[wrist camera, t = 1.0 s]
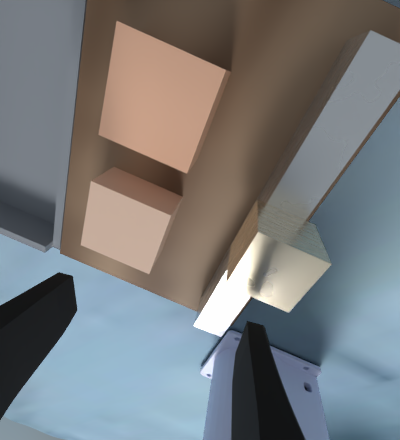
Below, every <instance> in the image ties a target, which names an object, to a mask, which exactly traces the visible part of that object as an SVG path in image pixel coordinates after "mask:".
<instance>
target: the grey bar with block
mask: <svg viewBox="0 0 400 440" xmlns="http://www.w3.org/2000/svg"><path fill="white" fill-rule="evenodd" d="M399 90H400V44H399V43H397V42H395V41H393V40H391V39H389V38H387V37H384V36H382V35H380V34H378V33H376V32H374V31H371V30H370V31H367V32H365V33H363V34H360V35H358V36H355V37H353V38H351V39H348V40H347V41H346V43H345V44H344V46H343V48H342V50H341V51H340V53H339V55H338V57H337V59H336V60H335V62H334V64H333V66H332V67H331V69H330V71H329V73H328V74H327V76H326V78H325V80H324V81H323V83H322V85H321V87H320V88H319V90H318V92H317V94H316V96H315V97H314V99H313V101H312V103H311V104H310V106H309V108H308V110H307V111H306V113H305V115H304V117H303V118H302V120H301V122H300V124H299V126H298V127H297V129H296V131H295V133H294V134H293V136H292V138H291V140H290V141H289V143H288V145H287V147H286V148H285V150H284V152H283V154H282V155H281V157H280V159H279V161H278V163H277V164H276V166H275V168H274V170H273V171H272V173H271V175H270V177H269V178H268V180H267V182H266V184H265V185H264V187H263V189H262V191H261V192H260V194H259V196H258V198H257V200H256V201H255V203H254V205H253V207H252V208H251V210H250V212H249V214H248V215H247V217H246V219H245V221H244V222H243V224H242V226H241V228H240V230H239V231H238V233H237V235H236V237H235V238H234V240H233V242H232V244H231V245H230V247H229V249H228V251H227V252H226V254H225V256H224V258H223V259H222V261H221V263H220V265H219V267H218V268H217V270H216V272H215V274H214V275H213V277H212V279H211V281H210V282H209V284H208V286H207V288H206V289H205V291H204V293H203V295H202V296H201V298H200V303H199V307H198V311H197V315H196V319H195V323H194V326H196V327H198V328H201V329H203V330H205V331H208V332H210V333H212V334H215V335H217V336H219V337H222V335H223V334H224V333H225V331H226V330H227V329H228V327H229V326H230V324H231V323H232V322H233V320H234V319H235V317H236V316H237V315H238V313H239V312H240V311H241V309H242V308H243V306H244V305H245V304H246V302H247V301H248V299H249V298H250V297H253V298H255V299H258V300H260V301H262V302H265V303H267V304H269V305H272V306H274V307H276V308H279V309H281V310H283V311H286V312H288V313H289V312H290V311H291V310H292V309H293V307H294V306H295V305H296V304H297V303H298V302H299V301H300V300H301V298H302V297H303V296H304V295H305V294H306V293H307V292H308V291H309V289H310V288H311V287H312V286H313V285H314V284H315V283H316V282H317V280H318V279H319V278H320V277H321V276H322V275H323V274H324V273H325V271H326V270H327V269H328V268H329V267H330V266H331V265H332V264H331V261H330V259H329V257H328V254H327V252H326V249H325V247H324V245H323V242H322V240H321V237H320V235H319V233H318V230H317V228H316V225H315V224H313V223H310V222H308V221H306V219H307V218H308V216H309V215H310V214H311V212H312V211H313V209H314V208H315V207H316V205H317V204H318V202H319V201H320V200H321V198H322V197H323V196H324V194H325V193H326V191H327V190H328V189H329V187H330V186H331V184H332V183H333V182H334V180H335V179H336V178H337V176H338V175H339V173H340V172H341V171H342V169H343V168H344V166H345V165H346V164H347V162H348V161H349V160H350V158H351V157H352V155H353V154H354V153H355V151H356V150H357V148H358V147H359V146H360V144H361V143H362V142H363V140H364V139H365V137H366V136H367V135H368V133H369V132H370V130H371V129H372V128H373V126H374V125H375V124H376V122H377V121H378V119H379V118H380V117H381V115H382V114H383V112H384V111H385V110H386V108H387V107H388V106H389V104H390V103H391V101H392V100H393V99H394V97H395V96H396V94H397V93H398V92H399Z"/></svg>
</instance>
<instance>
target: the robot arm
mask: <svg viewBox="0 0 400 440" xmlns="http://www.w3.org/2000/svg"><path fill="white" fill-rule="evenodd" d="M76 311H77V304H76V297H75V289H74V282H73V276H71V275H67V274H63V273H57V274H55V275H53V276H52V277H50V278H48V279H46V280H45V281H43V282H41V283H39V284H38V285H36V286H34V287H32V288H31V289H29V290H27V291H26V292H24V293H22V294H20V295H18V296H17V297H15V298H13V299H11V300H10V301H8V302H6V303H4V304H2V305H1V306H0V420H1V418H2V417H3V415H4V413H5V412H6V410H7V409H8V407H9V406H10V404H11V403H12V401H13V400H14V398H15V397H16V396H17V394H18V393H19V391H20V390H21V389H22V387H23V386H24V385H25V383H26V382H27V381H28V379H29V378H30V377H31V376H32V374H33V373H34V372H35V370H36V369H37V368H38V366H39V365H40V364H41V362H42V361H43V360H44V359H45V357H46V356H47V355H48V353H49V352H50V351H51V349H52V348H53V347H54V345H55V344H56V343H57V341H58V340H59V339H60V337H61V336H62V335H63V333H64V332H65V330H66V328H67V327H68V325H69V324H70V322H71V320H72V318H73V317H74V315H75V313H76ZM200 374H201V375H203V376H205V377H208V378H210V379H211V386H210V393H209V400H208V408H207V415H206V422H205V429H204V436H203V440H330V439H329V434H328V430H327V425H326V420H325V415H324V410H323V406H322V401H321V396H320V391H319V387H318V382H317V377H318V376H319V375H320V374H321V368H320V367H318V366H316V365H314V364H312V363H309V362H307V361H305V360H302V359H300V358H298V357H295V356H293V355H291V354H288V353H286V352H283V351H281V350H279V349H276V348H274V347H272V346H270V344H269V341H268V337H267V334H266V330H265V327H264V326H263V325H260V324H256V323H252V322H249V321H247V323H246V326H245V329H244V331H243V334H241V333H239V332H236V331H234V330H230V331H228V332H227V333H226V335H225V336H224V337H223V339H222V340H221V342H220V343H219V344H218V346H217V347H216V348H215V350H214V351H213V352H212V354H211V355H210V357H209V358H208V359H207V361H206V362H205V363H204V365H203V366H202V368H201V369H200Z"/></svg>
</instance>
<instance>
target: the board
mask: <svg viewBox="0 0 400 440" xmlns="http://www.w3.org/2000/svg"><path fill="white" fill-rule="evenodd" d="M117 21H119V22H121V23H123V24H126V25H128V26H130V27H133V28H135V29H137V30H140V31H142V32H144V33H147V34H149V35H151V36H153V37H155V38H158V39H160V40H162V41H164V42H166V43H169V44H171V45H173V46H175V47H177V48H180V49H182V50H184V51H186V52H189V53H191V54H193V55H195V56H197V57H200V58H202V59H204V60H206V61H208V62H211V63H213V64H215V65H217V66H219V67H222V68H224V69H226V70H228V71H230V72H231V73H230V76H229V78H228V81H227V84H226V86H225V89H224V91H223V94H222V97H221V99H220V102H219V104H218V107H217V109H216V112H215V115H214V117H213V120H212V122H211V125H210V128H209V130H208V133H207V135H206V138H205V141H204V143H203V146H202V148H201V151H200V153H199V156H198V159H197V160H196V162H195V163H194V165H193V166H192V167H191V169H190V170H189V172H188V173H184V172H182V171H180V170H177V169H175V168H173V167H171V166H168V165H166V164H164V163H162V162H159V161H157V160H155V159H152V158H150V157H148V156H146V155H143V154H141V153H139V152H137V151H134V150H132V149H130V148H127V147H125V146H123V145H121V144H118V143H116V142H114V141H111V140H109V139H107V138H105V137H102V136H100V135H98V134H99V128H100V121H101V115H102V109H103V103H104V97H105V90H106V84H107V78H108V72H109V65H110V59H111V53H112V47H113V40H114V34H115V28H116V22H117ZM370 30H371V31H374V32H376V33H378V34H380V35H382V36H384V37H387V38H389V39H391V40H393V41H395V42H397V43H399V44H400V8H398V7H396V6H394V5H391V4H389V3H387V2H385V1H383V0H87V6H86V15H85V25H84V34H83V43H82V53H81V62H80V71H79V81H78V90H77V99H76V109H75V118H74V128H73V137H72V146H71V156H70V165H69V174H68V184H67V193H66V202H65V212H64V221H63V230H62V240H61V249H60V253H61V254H63V255H65V256H68V257H70V258H72V259H75V260H77V261H79V262H82V263H84V264H87V265H89V266H91V267H94V268H96V269H98V270H101V271H103V272H105V273H108V274H110V275H112V276H115V277H117V278H119V279H122V280H124V281H126V282H129V283H131V284H134V285H136V286H138V287H141V288H143V289H145V290H148V291H150V292H152V293H155V294H157V295H159V296H162V297H164V298H166V299H169V300H171V301H173V302H176V303H178V304H181V305H183V306H185V307H188V308H190V309H192V310H195V311H198V307H199V303H200V298H201V296H202V295H203V293H204V291H205V289H206V288H207V286H208V284H209V282H210V281H211V279H212V277H213V275H214V274H215V272H216V270H217V268H218V267H219V265H220V263H221V261H222V259H223V258H224V256H225V254H226V252H227V251H228V249H229V247H230V245H231V244H232V242H233V240H234V238H235V237H236V235H237V233H238V231H239V230H240V228H241V226H242V224H243V222H244V221H245V219H246V217H247V215H248V214H249V212H250V210H251V208H252V207H253V205H254V203H255V201H256V200H257V198H258V196H259V194H260V192H261V191H262V189H263V187H264V185H265V184H266V182H267V180H268V178H269V177H270V175H271V173H272V171H273V170H274V168H275V166H276V164H277V163H278V161H279V159H280V157H281V155H282V154H283V152H284V150H285V148H286V147H287V145H288V143H289V141H290V140H291V138H292V136H293V134H294V133H295V131H296V129H297V127H298V126H299V124H300V122H301V120H302V118H303V117H304V115H305V113H306V111H307V110H308V108H309V106H310V104H311V103H312V101H313V99H314V97H315V96H316V94H317V92H318V90H319V88H320V87H321V85H322V83H323V81H324V80H325V78H326V76H327V74H328V73H329V71H330V69H331V67H332V66H333V64H334V62H335V60H336V59H337V57H338V55H339V53H340V51H341V50H342V48H343V46H344V44H345V43H346V41H347V40H348V39H351V38H353V37H355V36H358V35H360V34H363V33H365V32H367V31H370ZM399 97H400V90H399V92H398V93H397V94H396V96H395V97H394V99H393V100H392V101H391V103H390V104H389V106H388V107H387V108H386V110H385V111H384V112H383V114H382V115H381V117H380V118H379V119H378V121H377V122H376V124H375V125H374V126H373V128H372V129H371V130H370V132H369V133H368V135H367V136H366V137H365V139H364V140H363V142H362V143H361V144H360V146H359V147H358V148H357V150H356V151H355V153H354V154H353V155H352V157H351V158H350V160H349V161H348V162H347V164H346V165H345V166H344V168H343V169H342V171H341V172H340V173H339V175H338V176H337V178H336V179H335V180H334V182H333V183H332V184H331V186H330V187H329V189H328V190H327V191H326V193H325V194H324V196H323V197H322V198H321V200H320V201H319V202H318V204H317V205H316V207H315V208H314V209H313V211H312V212H311V214H310V215H309V216H308V218H307V219H306V221H309V220H310V218H311V217H312V216H313V214H314V213H315V212H316V210H317V209H318V207H319V206H320V205H321V203H322V202H323V201H324V199H325V198H326V197H327V195H328V194H329V192H330V191H331V190H332V188H333V187H334V186H335V184H336V183H337V181H338V180H339V179H340V177H341V176H342V175H343V173H344V172H345V171H346V169H347V168H348V166H349V165H350V164H351V162H352V161H353V160H354V158H355V157H356V156H357V154H358V153H359V151H360V150H361V149H362V147H363V146H364V145H365V143H366V142H367V140H368V139H369V138H370V136H371V135H372V134H373V132H374V131H375V130H376V128H377V127H378V125H379V124H380V123H381V121H382V120H383V119H384V117H385V116H386V114H387V113H388V112H389V110H390V109H391V108H392V106H393V105H394V104H395V102H396V101H397V99H398V98H399ZM113 167H116V168H118V169H120V170H123V171H125V172H127V173H130V174H132V175H134V176H136V177H139V178H141V179H143V180H146V181H148V182H150V183H152V184H155V185H157V186H159V187H162V188H164V189H166V190H168V191H171V192H173V193H175V194H178V195H180V196H182V200H181V203H180V205H179V208H178V210H177V213H176V216H175V218H174V221H173V223H172V226H171V228H170V231H169V234H168V236H167V239H166V241H165V244H164V247H163V249H162V251H161V253H160V255H159V257H158V259H157V261H156V263H155V264H154V266H153V268H152V270H151V272H150V274H147V273H145V272H143V271H140V270H138V269H136V268H133V267H131V266H129V265H126V264H124V263H122V262H119V261H117V260H114V259H112V258H110V257H107V256H105V255H103V254H100V253H98V252H96V251H93V250H91V249H89V248H86V247H84V246H82V245H81V240H82V234H83V227H84V221H85V215H86V209H87V202H88V196H89V190H90V184H91V181H92V180H93V179H95V178H97V177H98V176H100V175H101V174H103V173H105V172H106V171H108V170H109V169H111V168H113ZM252 298H253V297H250V298H249V299H248V301H247V302H246V304H245V305H244V306H243V308H242V309H241V311H240V312H239V313H238V315H237V316H236V317H235V319H234V320H233V322H232V323H231V324H230V326H232V325H233V324H234V322H235V321H236V320H237V318H238V317H239V316H240V314H241V313H242V311H243V310H244V309H245V307H246V306H247V305H248V303H249V302H250V301H251V299H252Z"/></svg>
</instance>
